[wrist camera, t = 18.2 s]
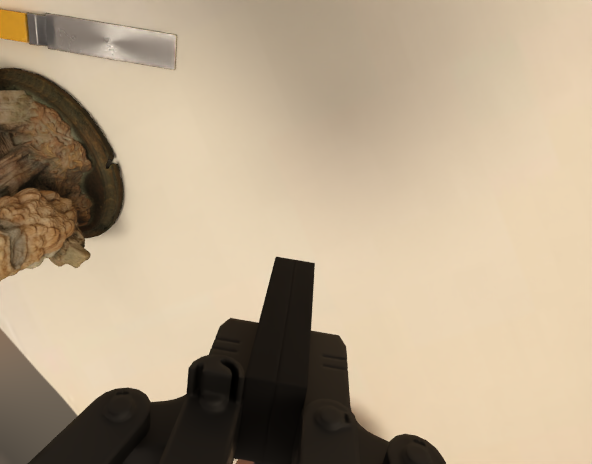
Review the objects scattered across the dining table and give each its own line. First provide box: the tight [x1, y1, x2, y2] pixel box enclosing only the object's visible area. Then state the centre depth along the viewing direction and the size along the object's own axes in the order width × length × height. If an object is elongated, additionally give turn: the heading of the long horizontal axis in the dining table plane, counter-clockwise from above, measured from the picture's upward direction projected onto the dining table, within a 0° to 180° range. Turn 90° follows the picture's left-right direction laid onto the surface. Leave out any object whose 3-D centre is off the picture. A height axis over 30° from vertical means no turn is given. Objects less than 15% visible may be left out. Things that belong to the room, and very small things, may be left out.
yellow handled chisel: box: [0, 9, 177, 70], centre depth 35 cm, size 20×3×2 cm, turn 81°
